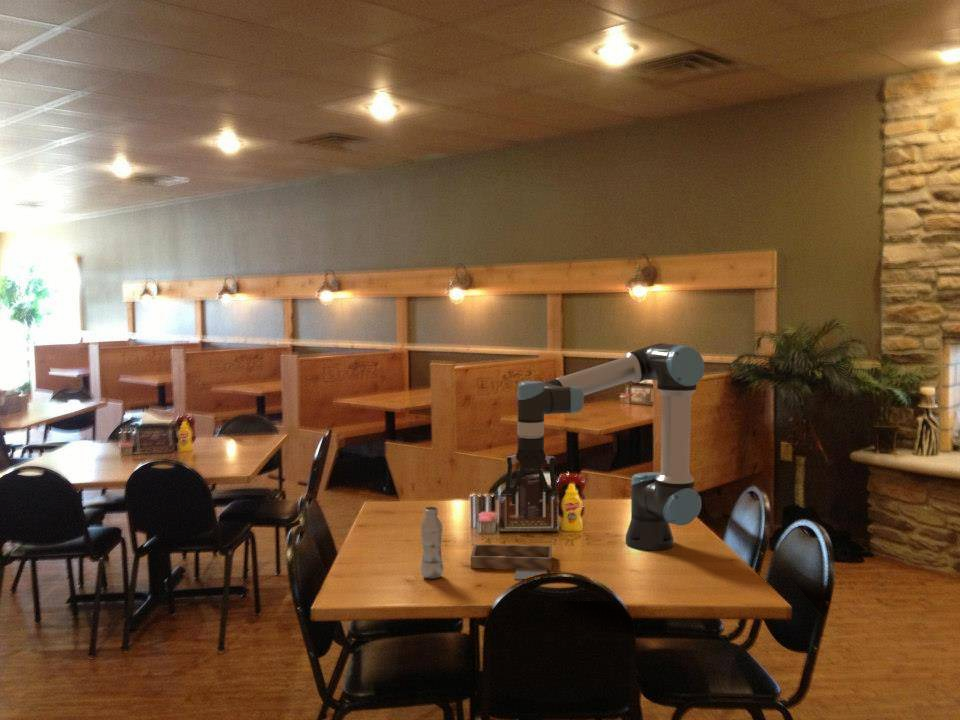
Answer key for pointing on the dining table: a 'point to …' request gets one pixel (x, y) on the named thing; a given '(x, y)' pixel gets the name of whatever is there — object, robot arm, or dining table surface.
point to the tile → (527, 572)
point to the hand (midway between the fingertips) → (530, 515)
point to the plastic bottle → (431, 544)
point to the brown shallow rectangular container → (511, 556)
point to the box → (530, 497)
